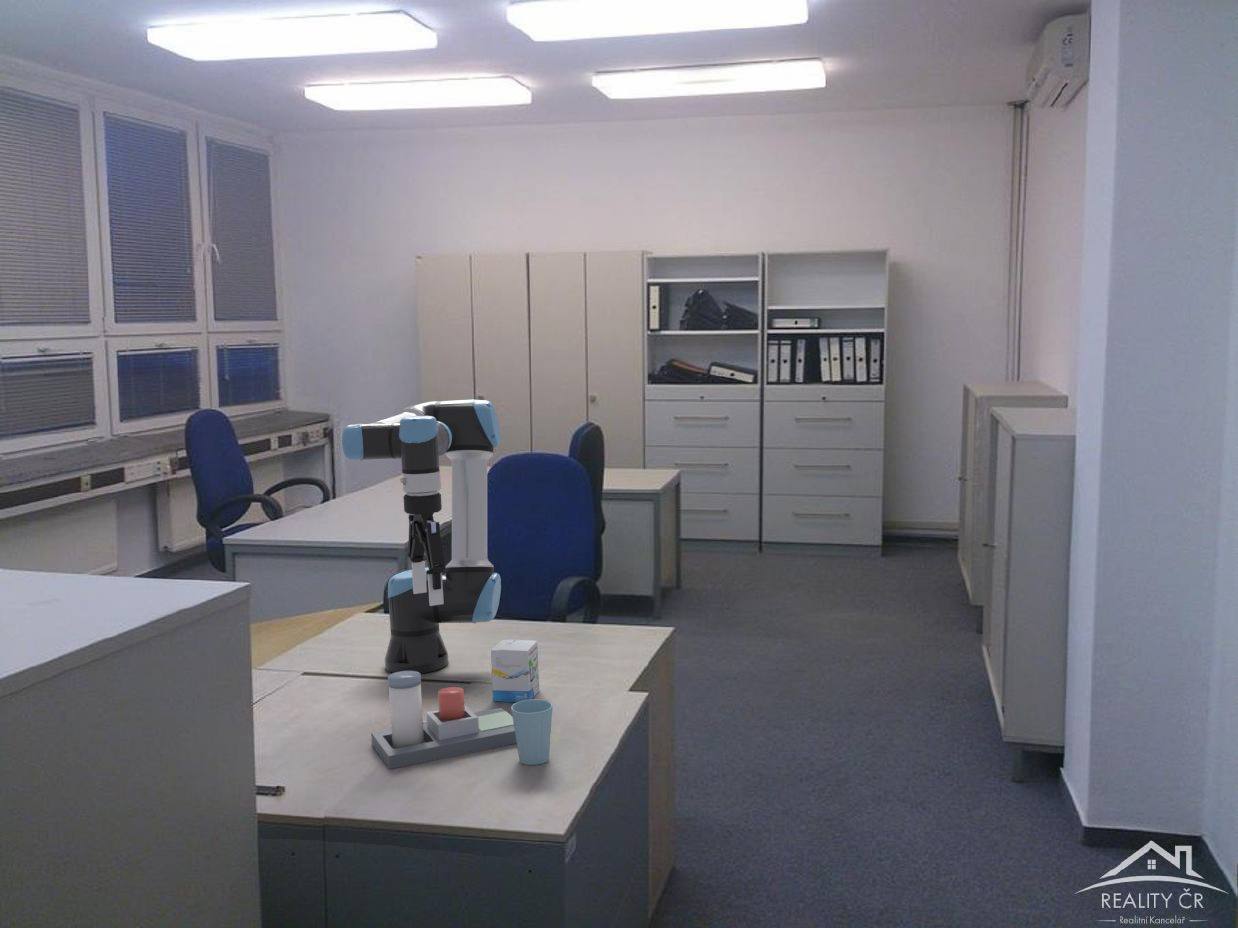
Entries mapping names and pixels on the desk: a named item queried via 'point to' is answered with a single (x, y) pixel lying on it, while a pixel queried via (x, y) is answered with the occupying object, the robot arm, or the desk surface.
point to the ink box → (515, 670)
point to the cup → (532, 730)
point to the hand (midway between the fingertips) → (428, 598)
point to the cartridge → (406, 708)
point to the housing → (449, 737)
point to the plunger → (451, 703)
